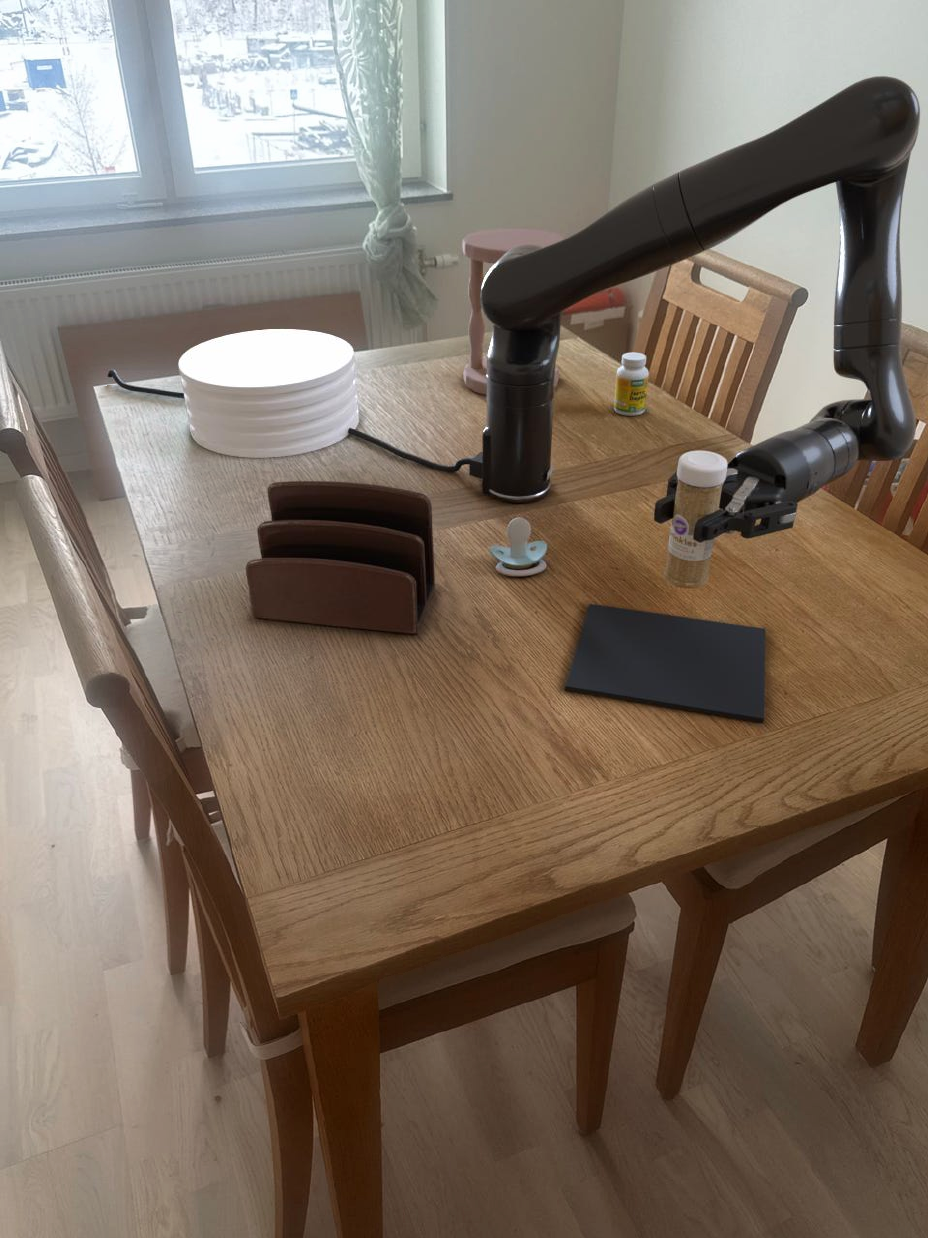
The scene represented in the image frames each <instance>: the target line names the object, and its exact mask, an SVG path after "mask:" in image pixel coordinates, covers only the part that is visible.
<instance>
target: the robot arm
mask: <svg viewBox="0 0 928 1238" xmlns="http://www.w3.org/2000/svg"><path fill="white" fill-rule="evenodd" d="M920 121H921V107H920V101H919V98H918V96H917V94H916V92H915V91H914V89H913V88H912V87H911V86H910V85H909V84H908V83H906V82H905V81H904V80H902V79H899V78H897V77H892V76H887V75H879V76H871V77H867V78H864V79H861V80H858V81H856V82H854V83H853V84H850V85H849V86H847V87H845V88H844V89H842V90H840V91H839V92H837V93H835V94H834V95H832V96H831V97H829V98H827V99H826V100H824V101H822V102H821V103H819V104H818V105H816V106H814V107H813V108H811V109H809V110H808V111H806V112H804V113H803V114H801V115H799V116H797V117H796V118H794V119H793V120H791V121H789V122H788V123H786V124H784V125H782V126H780V127H778V128H776V129H775V130H773V131H771V132H769V133H766V134H764V135H763V136H760V137H758V138H756V139H753V140H751V141H747V142H745V143H741V144H740V145H738V146H735V147H733V148H730V149H727V150H725V151H723V152H721V153H718V154H716V155H714V156H711V157H709V158H707V159H705V160H702V161H700V162H698V163H695V164H694V165H690V166H689V167H685V168H684V169H682V170H679V171H677V172H675V173H673V174H671V175H669V176H667V177H665V178H663V179H661V180H659V181H657V182H655V183H652V184H651V185H649V186H647V187H645V188H644V189H642V190H640V191H638V192H637V193H635V194H633V195H631V196H630V197H628V198H627V199H625V200H623V201H622V202H620V203H619V204H617V205H616V206H614V207H613V208H610V210H608V211H607V212H606V213H604V214H602V215H601V216H599V217H598V218H597V219H595V220H593V221H592V222H591V223H589V224H588V225H587V226H585V227H584V228H582V229H581V230H579V231H578V232H576V233H574V234H572V235H570V236H568V237H566V238H564V240H561V241H559V242H557V243H554V244H551V245H549V246H546V247H544V248H542V247H539V246H536V245H521V246H517V247H515V248H513V249H511V250H509V251H508V252H507V253H505V254H504V255H503V256H502V257H501V258H500V259H499V260H498V261H497V262H496V263H495V264H493V265H492V266H491V267H490V268H491V269H490V270H489V271H488V273H487V272H486V275H485V277H484V281H483V285H482V289H481V295H480V301H481V307H482V308H481V311H482V313H483V315H484V316H485V318H486V319H487V320H488V321H489V322H490V323H491V324H492V334H491V341H490V345H489V348H488V352H487V355H486V357H487V395H486V426H485V428H484V430H483V432H482V437H481V438H482V439H481V440H482V445H481V447H482V451H480V452H479V453H477V454H476V455H474V456H472V457H463V458H460V459H458V460H457V461H456V462H455V464H454V465H443V464H439V463H436V462H434V461H430V460H428V459H425V458H422V457H420V456H417V455H415V454H412V453H409V452H407V451H404V450H402V449H399V448H397V447H395V446H393V445H391V444H390V443H388V442H385V441H383V440H382V439H378V438H376V437H375V436H371V435H369V434H367V433H365V432H362V431H359V430H357V429H356V428H355V429H352V428H349V429H348V433H349V435H351V436H353V437H356V438H358V439H361V440H364V441H366V442H368V443H370V444H374V445H375V446H378V447H380V448H382V449H383V450H386V451H388V452H390V453H392V454H393V455H395V456H398V457H400V458H402V459H405V460H408V461H410V462H413V463H416V464H418V465H421V466H423V467H425V468H428V469H432V470H436V471H441V472H446V473H454V472H458V471H460V470H461V468H462V466H464V465H469V466H468V470H469V471H468V472H469V473H468V475H469V476H470V477H474V478H478V479H481V481H482V483H481V484H482V485H481V489H482V490H481V494H482V495H485V496H490V497H491V498H493V499H495V500H498V501H502V502H505V503H511V504H514V503H515V504H523V503H524V504H525V503H532V502H536V501H539V500H541V499H544V498H545V497H547V496H548V494H549V493H550V491H551V475H552V473H553V471H554V463H552V442H553V441H552V440H553V423H554V420H553V419H554V401H555V387H554V382H555V366H556V365H557V364H556V363H557V358H558V354H559V348H560V340H561V327H562V313H563V311H565V310H567V309H569V308H571V307H573V306H574V305H576V304H578V303H581V302H582V301H584V300H585V299H587V298H589V297H592V296H593V295H596V294H598V293H600V292H602V291H606V290H608V289H611V288H613V287H617V286H620V285H622V284H625V283H628V282H631V281H634V280H636V279H639V278H642V277H645V276H648V275H650V274H652V273H655V272H657V271H658V272H659V271H661V270H664V269H665V268H668V267H671V266H674V265H675V264H678V263H680V262H683V261H685V260H687V259H688V260H689V259H690V258H692V257H695V256H697V255H699V254H701V253H703V252H705V251H708V250H710V249H712V248H714V247H717V246H718V245H720V244H722V243H724V242H725V241H727V240H729V239H731V238H732V237H734V236H736V235H738V234H739V233H741V232H742V231H743V230H745V229H747V228H749V227H750V226H752V225H753V224H754V223H756V222H757V221H758V220H760V219H761V218H763V217H764V216H766V215H767V214H769V213H771V212H772V211H773V210H774V209H777V208H778V207H780V206H782V205H784V204H785V203H787V202H789V201H791V200H793V199H795V198H798V197H800V196H802V195H805V194H807V193H810V192H812V191H815V190H818V189H821V188H824V187H826V186H828V185H832V184H835V187H836V193H837V200H838V208H839V209H838V211H839V212H838V213H839V251H838V252H839V253H838V255H839V256H838V262H837V263H838V264H837V272H836V273H837V274H836V281H835V293H834V294H835V295H834V296H835V297H834V305H833V307H834V310H833V369H834V372H835V373H836V374H837V375H838V376H839V377H842V378H846V379H851V380H857V381H860V382H862V383H863V384H864V386H865V387H866V389H867V391H868V393H869V396H870V398H858V399H857V398H856V399H842V400H838V401H834V402H831V403H829V404H826V405H825V406H822V408H821V409H820V410H819V411H817V413H816V414H815V415H814V416H813V417H812V418H811V419H810V421H809V422H807V423H804V424H803V425H801V426H799V427H796V428H794V429H792V430H787V431H784V432H780V433H778V434H775V435H773V436H771V437H768V438H767V439H765V440H763V441H760V442H758V443H756V444H754V445H752V446H750V447H747V448H745V449H743V450H740V451H739V452H738V453H737V454H736V455H734V456H733V457H732V459H731V460H730V461H729V462H728V463H727V472H726V478H725V481H724V483H723V485H722V491H721V496H720V503H719V510H717V511H715V512H713V513H711V514H709V515H707V516H705V517H703V518H701V519H699V520H698V521H697V522H696V524H695V528H694V535H693V539H694V540H695V541H697V542H700V543H701V542H703V541H705V540H712V539H714V540H715V539H716V538H718V537H720V536H721V535H724V534H727V535H730V534H731V535H732V534H734V533H735V532H738V533H740V537H742V538H744V539H753V538H757V537H761V536H765V535H768V534H769V535H770V534H773V533H777V532H782V531H785V530H789V529H792V528H793V527H794V524H795V520H796V515H797V511H798V506H799V504H798V503H800V502H802V501H803V500H807V499H808V498H809V497H811V496H812V495H814V494H815V493H817V492H818V491H819V490H820V489H821V488H823V487H825V486H827V485H829V484H831V483H832V482H834V481H836V480H838V479H839V478H841V477H843V476H845V475H846V474H847V473H848V472H849V471H850V470H851V469H852V468H854V466H855V465H856V462H858V461H859V462H861V461H863V462H864V461H865V462H869V461H870V462H871V461H872V462H873V461H874V462H891V461H896V460H898V459H900V458H902V457H903V456H904V455H905V454H906V453H907V452H908V451H909V450H910V448H911V446H912V444H913V442H914V439H915V436H916V430H917V418H916V414H915V409H914V406H913V402H912V398H911V394H910V392H909V387H908V383H907V379H906V378H907V377H906V374H905V370H904V366H903V361H902V353H901V351H902V344H901V343H902V328H903V327H902V325H903V324H902V323H903V319H902V318H903V284H902V265H901V216H902V205H903V196H904V190H905V185H906V179H907V174H908V168H909V163H910V159H911V155H912V151H913V149H914V147H915V145H916V143H917V142H916V141H917V138H918V135H919V129H920V124H921V123H920ZM107 378H113V380H114V381H115V383H116V384H117V386H119V387H120V388H122V389H124V390H127V391H131V392H134V393H135V392H137V393H142V394H151V395H159V396H164V397H170V398H176V399H177V398H178V399H184V400H185V398H184V392H180V391H173V390H166V389H159V388H153V387H145V386H137V385H132V384H129V383H126V382H124V381H122V379H121V378H120V376H119V374H118V372H117V371H116V370H115V369H110V370H109V371H108V373H107ZM551 463H552V465H551ZM677 478H678V477H677V470H676V471H675V472H674V473H673V474H672V475H671V476H669V478H668V480H667V487H666V495H665V496H664V497H662V498H659V499H657V500H656V502H655V504H654V511H653V513H654V514H653V521H654V522H656V523H657V524H660V525H663V524H664V523H666V522H668V521H670V520H672V519H673V512H674V505H675V498H676V492H677V485H678V479H677ZM757 520H760V522H759V524H756V522H757Z"/></svg>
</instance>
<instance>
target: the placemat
mask: <svg viewBox="0 0 928 1238" xmlns="http://www.w3.org/2000/svg"><path fill="white" fill-rule="evenodd" d="M579 634H580V635H579V638H578V640H577V641H578V642H577V645H576V648H575V652H574V655H573V658H572V661H571V664H570V668H569V671H568V675H567V678H566V682H565V684H564V691H567V692H572V693H579V694H585V695H591V696H598V697H604V698H609V699H616V700H621V701H628V702H634V703H639V704H646V705H652V706H659V707H665V708H671V709H677V710H681V711H682V710H683V711H689V712H695V713H700V714H708V715H713V716H717V717H725V718H731V719H738V720H743V721H749V722H755V723H762V724H763V723H764V721H765V691H766V690H765V686H766V685H765V683H766V682H765V681H766V679H765V678H766V628H763V627H755V626H750V625H743V624H734V623H729V622H720V621H714V620H707V619H700V618H693V617H686V616H679V615H672V614H666V613H658V612H653V611H652V612H650V611H644V610H636V609H630V608H623V607H616V606H609V605H601V604H594V603H589V604H588V607H587V610H586V614H585V617H584V622H583V624H582V628H581V631H580V633H579Z"/></svg>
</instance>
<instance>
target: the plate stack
mask: <svg viewBox="0 0 928 1238" xmlns="http://www.w3.org/2000/svg"><path fill="white" fill-rule="evenodd" d="M177 366H178V371H179V376H180V378H181V379H180V382H181V387H182V391H183V393H184V398H185V399H184V398H183V399H184V403H185V406H186V413H187V419H188V422H189V430H190V435H191V437H192V439H193V440H194V441H195V442H196V443H197V444H198V445H199V446H201V447H203V448H205V449H207V450H209V451H211V452H214V453H217V454H221V455H225V456H231V457H237V458H238V457H239V458H248V459H249V458H250V459H269V458H282V457H289V456H296V455H301V454H306V453H311V452H314V451H318V450H321V449H325V448H327V447H329V446H332V445H334V444H336V443H338V442H340V441H343V440H344V439H345V438H347V437H348V436H349V435H350V434H349V433H348V429H349V428H352V429H355V430H356V428H357V427H358V426H359V422H360V411H359V399H358V394H357V393H358V388H357V387H358V386H357V379H356V377H357V375H356V365H355V351H354V348H353V346H352V345H351V344H350V343H348V341H346V340H344V339H343V338H340V337H338V336H336V335H332V334H329V333H325V332H320V331H313V330H305V329H292V328H291V329H289V328H287V329H284V328H279V329H276V328H275V329H262V330H251V331H243V332H238V333H232V334H227V335H223V336H219V337H216V338H213V339H210V340H206V341H204V342H201V343H199V344H198V345H197V344H196V345H195V346H193V347H191V348H189V349H188V350H187V351H186V352H185V353H183V354H182V355H181V356H180V358H179V359H178V364H177Z"/></svg>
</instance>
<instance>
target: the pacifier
mask: <svg viewBox="0 0 928 1238" xmlns="http://www.w3.org/2000/svg"><path fill="white" fill-rule="evenodd" d="M531 531H532V527H531V525H530V522H529V521H528V520H526V519H525V518H523V517H515V518H513V519H512V520H510V522H509V523H508V525H507V528H506V534H507V537H508V539H509V541H510V542H509V547H506V546H502V545H493V544H492V545H490V546H489V547H488V548H489V552H490V554H491V555H492V556H493V557H494V558H495V559H496V560H497V561H498V563H497V565H496V566H495V570H496V571H497V572H498V573H499V574H501V575H505V576H509V577H529V576H533V575H537V574H540V573H542V572H543V571H545V570H546V568H547V563H546V561H545V560H543V558H544V556H545V555H546V553H547V551H548V545H547V542H546V541H544V540H535V541H531V542H529V543H528V540H529V539H530V536H531V533H532V532H531ZM533 549H534V550H533ZM533 564H536V566H535V567H532V568H529V567H531V566H532V565H533ZM527 568H528V569H527Z"/></svg>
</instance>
